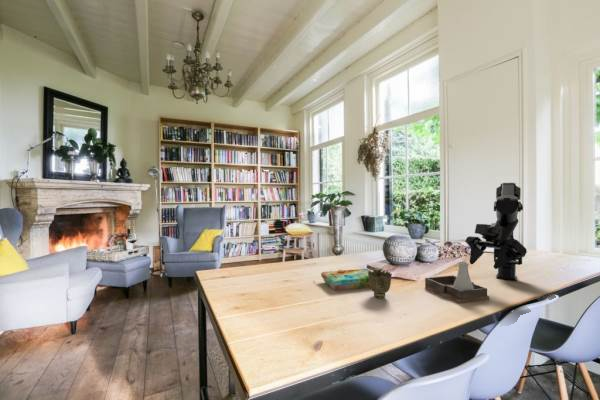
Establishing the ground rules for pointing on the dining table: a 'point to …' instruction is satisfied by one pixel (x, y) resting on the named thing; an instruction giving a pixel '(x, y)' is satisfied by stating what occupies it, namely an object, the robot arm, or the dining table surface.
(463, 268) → the flask
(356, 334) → the dining table surface
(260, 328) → the dining table surface
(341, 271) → the puzzle game
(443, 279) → the walnut dock
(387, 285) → the cup
